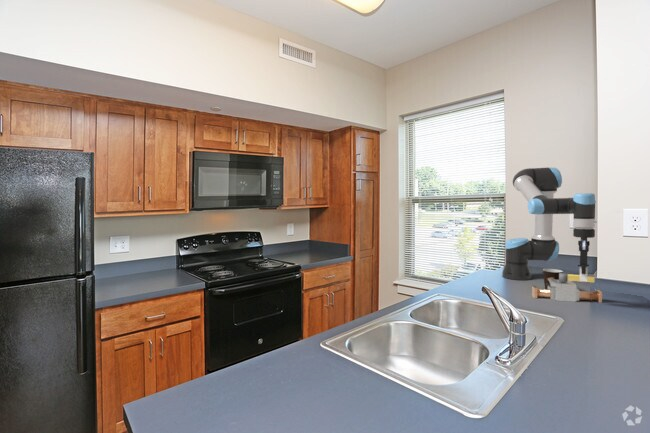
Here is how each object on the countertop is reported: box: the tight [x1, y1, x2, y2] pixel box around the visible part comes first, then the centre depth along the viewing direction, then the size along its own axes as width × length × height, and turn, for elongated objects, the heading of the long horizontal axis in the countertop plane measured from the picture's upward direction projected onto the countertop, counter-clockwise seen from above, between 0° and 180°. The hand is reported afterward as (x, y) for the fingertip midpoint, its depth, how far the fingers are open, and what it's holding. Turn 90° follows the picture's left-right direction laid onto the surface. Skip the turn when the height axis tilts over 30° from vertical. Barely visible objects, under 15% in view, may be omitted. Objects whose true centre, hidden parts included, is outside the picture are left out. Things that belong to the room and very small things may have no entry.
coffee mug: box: [542, 268, 564, 289], centre depth 170 cm, size 12×9×10 cm
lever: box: [559, 272, 596, 283], centre depth 154 cm, size 13×3×4 cm, turn 64°
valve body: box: [531, 279, 603, 303], centre depth 156 cm, size 8×26×8 cm, turn 70°
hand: (583, 280), depth 148 cm, fingers closed
